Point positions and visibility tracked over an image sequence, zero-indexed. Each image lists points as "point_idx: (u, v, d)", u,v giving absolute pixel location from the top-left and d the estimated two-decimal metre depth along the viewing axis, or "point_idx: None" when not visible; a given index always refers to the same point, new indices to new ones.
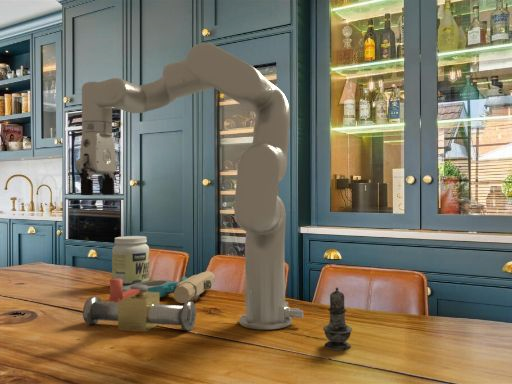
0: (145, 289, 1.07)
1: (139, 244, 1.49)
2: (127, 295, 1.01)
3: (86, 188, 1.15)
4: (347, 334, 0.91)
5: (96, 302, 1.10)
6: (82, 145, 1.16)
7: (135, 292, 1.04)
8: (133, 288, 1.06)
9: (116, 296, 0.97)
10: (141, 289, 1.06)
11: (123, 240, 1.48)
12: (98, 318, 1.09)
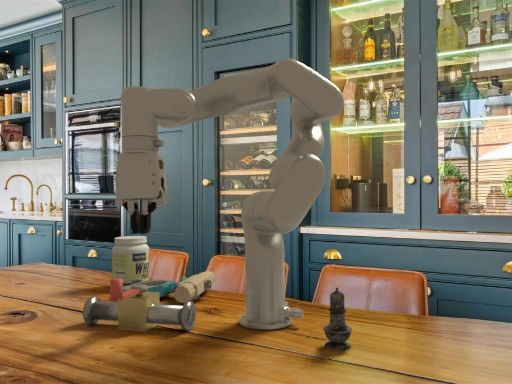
0: (145, 289, 1.07)
1: (139, 244, 1.49)
2: (127, 295, 1.01)
3: (150, 225, 0.97)
4: (347, 334, 0.91)
5: (96, 302, 1.10)
6: (158, 166, 0.95)
7: (135, 292, 1.04)
8: (133, 288, 1.06)
9: (116, 296, 0.97)
10: (141, 289, 1.06)
11: (123, 240, 1.48)
12: (98, 318, 1.09)
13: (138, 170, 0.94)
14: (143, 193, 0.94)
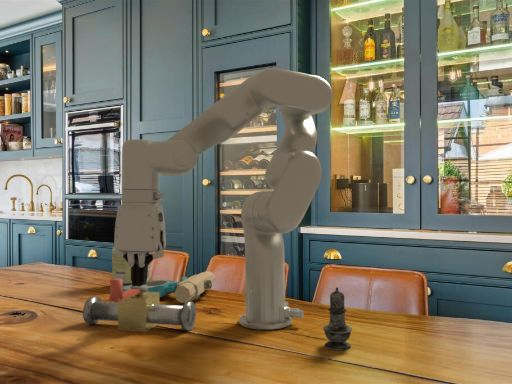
0: (145, 289, 1.07)
1: None
2: (127, 295, 1.01)
3: (146, 277, 0.97)
4: (347, 334, 0.91)
5: (96, 302, 1.10)
6: (157, 220, 0.94)
7: (135, 292, 1.04)
8: (133, 288, 1.06)
9: (116, 296, 0.97)
10: (141, 289, 1.06)
11: None
12: (98, 318, 1.09)
13: (137, 223, 0.94)
14: (142, 246, 0.94)
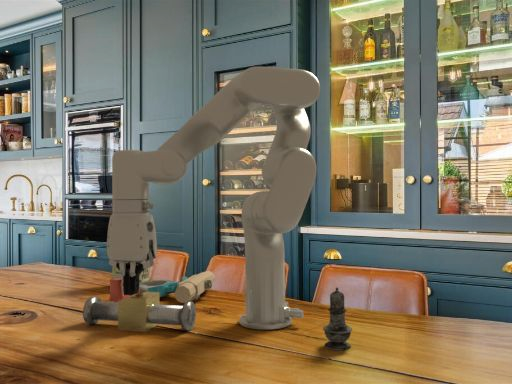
0: (145, 289, 1.07)
1: None
2: (127, 295, 1.01)
3: (138, 286, 0.98)
4: (347, 334, 0.91)
5: (96, 302, 1.10)
6: (146, 229, 0.95)
7: None
8: None
9: (116, 296, 0.97)
10: (141, 289, 1.06)
11: None
12: (98, 318, 1.09)
13: (127, 233, 0.95)
14: (132, 256, 0.95)
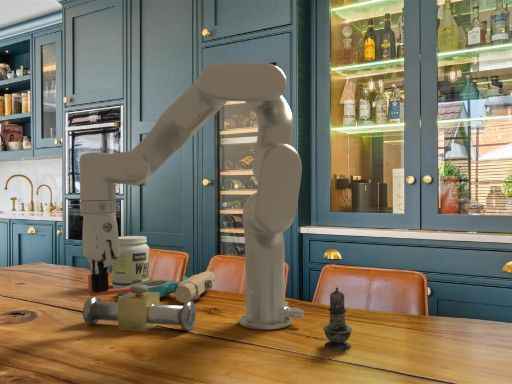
0: (138, 290, 1.06)
1: (139, 244, 1.50)
2: (107, 292, 1.04)
3: (105, 284, 1.01)
4: (347, 334, 0.91)
5: (96, 302, 1.10)
6: (101, 230, 0.97)
7: (123, 291, 1.06)
8: (130, 287, 1.08)
9: (89, 290, 1.03)
10: (133, 289, 1.06)
11: (123, 240, 1.48)
12: (98, 318, 1.09)
13: (89, 233, 0.99)
14: (92, 255, 0.99)
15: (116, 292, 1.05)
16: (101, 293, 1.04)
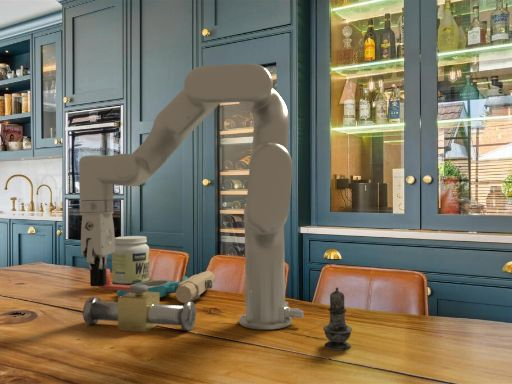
0: (132, 290, 1.06)
1: (139, 244, 1.50)
2: (110, 287, 1.10)
3: (98, 279, 1.07)
4: (347, 334, 0.91)
5: (96, 302, 1.10)
6: (83, 228, 1.03)
7: (122, 288, 1.08)
8: (133, 286, 1.09)
9: None
10: (130, 288, 1.07)
11: (123, 240, 1.48)
12: (98, 318, 1.09)
13: None
14: None
15: (117, 288, 1.09)
16: (106, 287, 1.10)
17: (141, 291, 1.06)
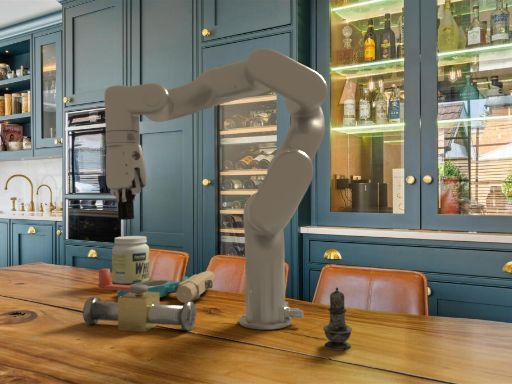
0: (132, 290, 1.06)
1: (139, 244, 1.50)
2: (110, 287, 1.10)
3: (131, 211, 1.06)
4: (347, 334, 0.91)
5: (96, 302, 1.10)
6: (131, 157, 1.02)
7: (123, 288, 1.08)
8: (133, 286, 1.09)
9: None
10: (130, 288, 1.07)
11: (123, 240, 1.48)
12: (98, 318, 1.09)
13: (116, 162, 1.04)
14: (121, 182, 1.04)
15: (117, 288, 1.09)
16: (106, 287, 1.10)
17: (141, 291, 1.06)
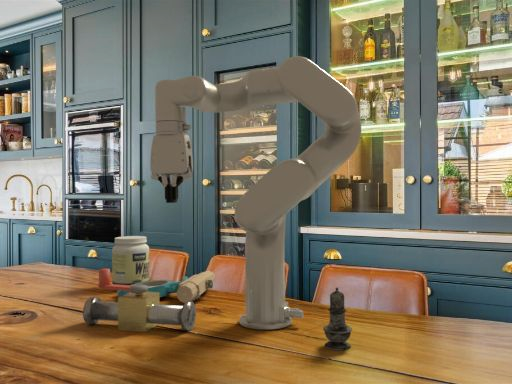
0: (132, 290, 1.06)
1: (139, 244, 1.49)
2: (110, 287, 1.10)
3: (177, 195, 1.16)
4: (347, 334, 0.91)
5: (96, 302, 1.10)
6: (186, 146, 1.13)
7: (123, 288, 1.08)
8: (133, 286, 1.09)
9: None
10: (130, 288, 1.07)
11: (123, 240, 1.48)
12: (98, 318, 1.09)
13: (170, 149, 1.13)
14: (174, 168, 1.13)
15: (117, 288, 1.09)
16: (106, 287, 1.10)
17: (141, 291, 1.06)
